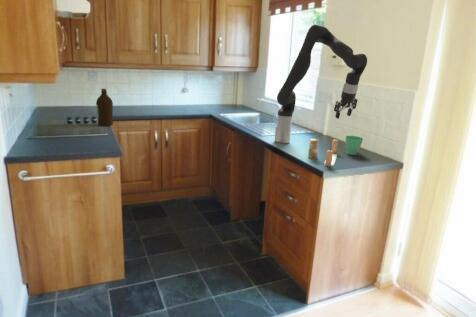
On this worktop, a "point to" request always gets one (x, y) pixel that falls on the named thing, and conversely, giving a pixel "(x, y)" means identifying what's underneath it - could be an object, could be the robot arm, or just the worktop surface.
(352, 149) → the mug
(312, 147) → the brown upright block
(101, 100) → the olive oil
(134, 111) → the worktop surface
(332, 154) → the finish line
